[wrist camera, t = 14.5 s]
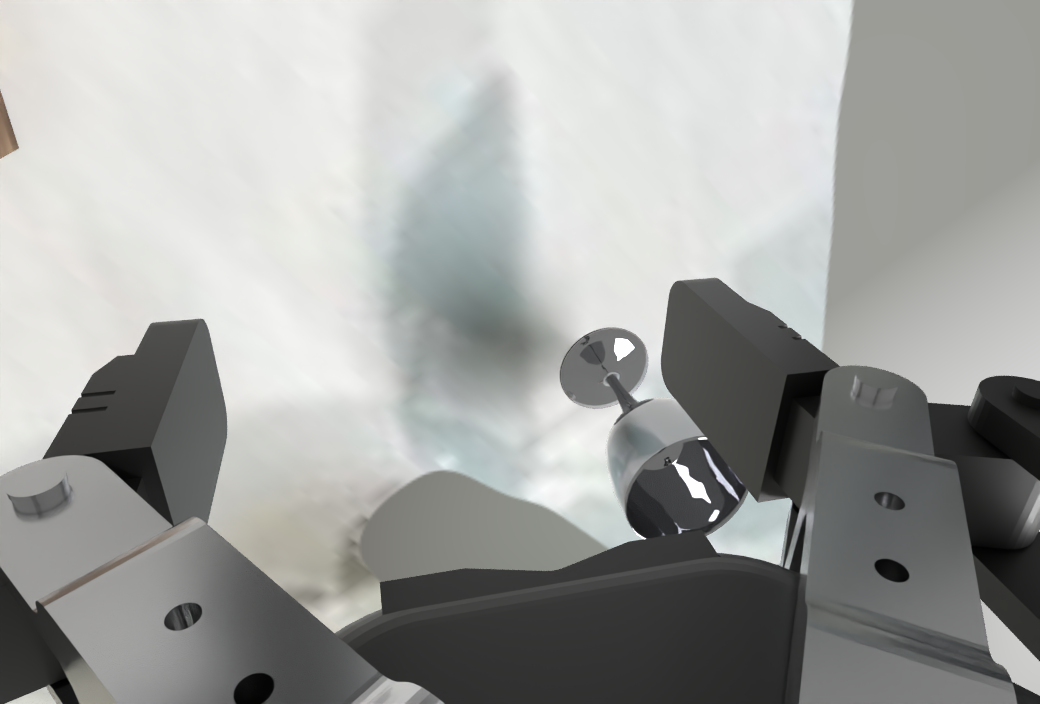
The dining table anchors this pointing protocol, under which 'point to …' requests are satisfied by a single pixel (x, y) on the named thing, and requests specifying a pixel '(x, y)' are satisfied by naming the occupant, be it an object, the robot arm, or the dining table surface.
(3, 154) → the tray
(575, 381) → the wine glass
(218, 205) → the dining table surface
